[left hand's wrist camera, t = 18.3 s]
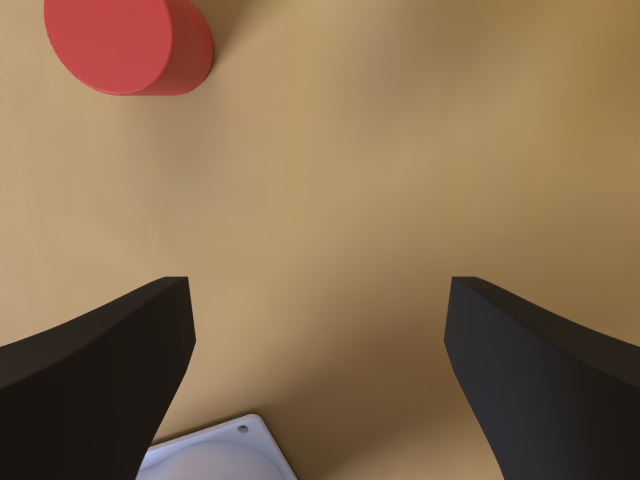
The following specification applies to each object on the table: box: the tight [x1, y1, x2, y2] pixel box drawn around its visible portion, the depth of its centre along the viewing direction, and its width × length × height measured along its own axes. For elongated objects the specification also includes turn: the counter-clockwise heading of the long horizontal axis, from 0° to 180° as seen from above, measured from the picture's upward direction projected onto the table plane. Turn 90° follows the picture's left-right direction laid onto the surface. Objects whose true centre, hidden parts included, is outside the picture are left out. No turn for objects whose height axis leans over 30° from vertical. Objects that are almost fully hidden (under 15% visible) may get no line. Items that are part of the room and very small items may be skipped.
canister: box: [44, 0, 213, 96], centre depth 13 cm, size 4×4×4 cm
